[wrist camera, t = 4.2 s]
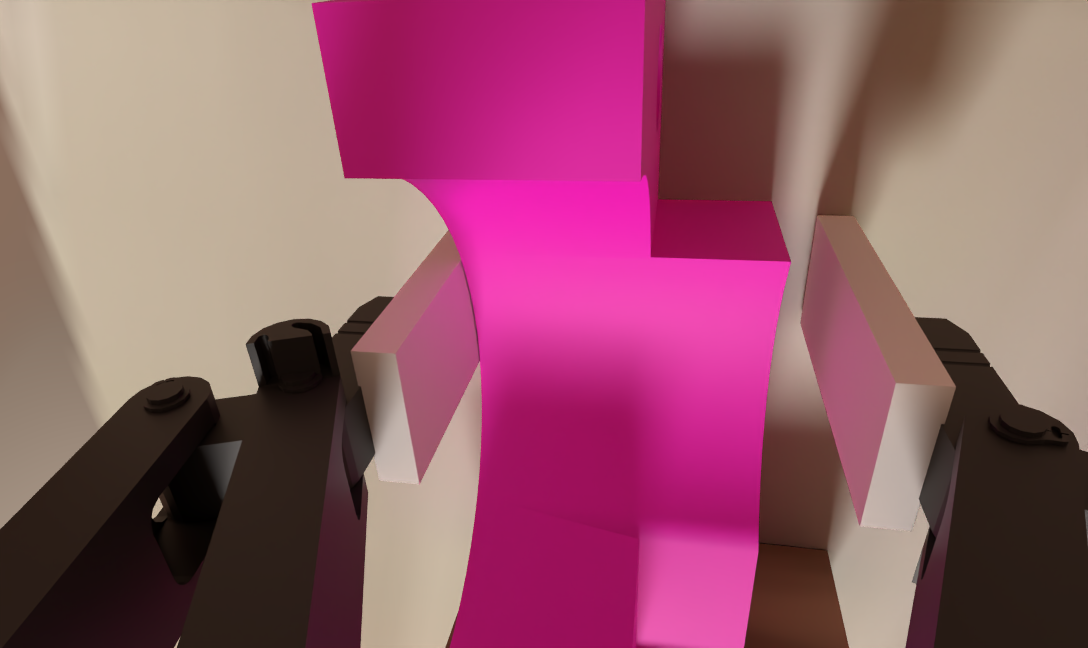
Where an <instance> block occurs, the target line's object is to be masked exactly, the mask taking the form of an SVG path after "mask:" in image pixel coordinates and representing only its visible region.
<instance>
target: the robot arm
mask: <svg viewBox="0 0 1088 648" xmlns="http://www.w3.org/2000/svg"><path fill="white" fill-rule="evenodd" d="M800 323H801V327H802V330H803V334H804V337H805V341H806V344H807V347H808V351H809V354H810V358H811V361H812V364H813V368H814V371H815V375H816V378H817V382H818V385H819V388H820V392H821V395H822V399H823V402H824V405H825V409H826V412H827V416H828V419H829V423H830V426H831V429H832V433H833V436H834V440H835V443H836V446H837V450H838V453H839V457H840V460H841V464H842V467H843V470H844V474H845V477H846V481H847V484H848V487H849V491H850V494H851V498H852V501H853V504H854V508H855V511H856V515H857V518H858V522H859V525H860V527H870V528H880V529H891V530H901V531H912V530H913V527H914V523H915V520H916V517H917V513H918V510H919V507H920V504H921V506H922V508H923V511H924V513H925V515H926V518H927V520H928V523H929V525H930V527H929V530H928V533H927V536H926V539H925V542H924V546H923V549H922V552H921V555H920V558H919V561H918V564H917V567H916V570H915V574H914V577H913V580H912V582H913V583H916V590H915V596H914V602H913V607H912V613H911V619H910V625H909V630H908V636H907V642H906V648H1088V452H1086V451H1082V450H1079V444H1078V442H1077V439H1076V437H1075V435H1074V433H1073V432H1072V431H1071V430H1069V429H1068V428H1067V427H1066V426H1065V425H1064V424H1063V423H1062V422H1060V421H1059V420H1057V419H1055V418H1053V417H1051V416H1049V415H1047V414H1045V413H1044V412H1042V411H1039V410H1035V409H1032V408H1029V407H1026V406H1023V405H1019V404H1018V402H1017V401H1016V399H1015V398H1014V397H1013V395H1012V394H1011V392H1010V391H1009V390H1008V388H1007V387H1006V385H1005V384H1004V383H1003V381H1002V380H1001V378H1000V377H999V376H998V374H997V373H996V371H995V370H994V368H993V367H990V363H989V361H988V360H987V359H986V357H985V356H984V354H983V353H980V349H979V347H978V346H977V345H976V343H975V342H974V340H973V339H972V337H971V336H970V335H969V333H967V332H966V331H964V330H963V329H961V328H960V327H958V326H956V325H955V324H953V323H952V322H950V321H949V320H947V319H941V318H918V317H914V316H913V314H912V312H911V311H910V309H909V307H908V306H907V304H906V302H905V300H904V299H903V297H902V295H901V294H900V292H899V290H898V289H897V287H896V285H895V284H894V282H893V280H892V279H891V277H890V275H889V274H888V272H887V270H886V269H885V267H884V265H883V264H882V262H881V260H880V259H879V257H878V255H877V254H876V252H875V250H874V249H873V247H872V245H871V244H870V242H869V240H868V239H867V237H866V235H865V234H864V232H863V230H862V229H861V227H860V225H859V224H858V222H857V220H856V218H855V217H854V216H828V215H817V221H816V227H815V234H814V240H813V246H812V253H811V259H810V265H809V272H808V278H807V284H806V290H805V297H804V303H803V309H802V316H801V322H800ZM246 347H247V350H248V353H249V356H250V360H251V363H252V366H253V369H254V373H255V376H256V379H257V382H258V385H259V388H258V391H257V394H253V395H247V396H239V397H232V398H224V399H216V400H215V398H214V395H213V392H212V390H211V387H210V384H209V382H207V381H206V380H204V379H202V378H198V377H189V376H187V377H179V378H175V377H174V378H169V379H166V380H165V381H164V380H161V381H158V382H156V383H154V384H153V385H151V386H149V387H147V388H145V389H143V390H141V391H139V392H138V393H137V394H135V395H134V396H133V397H132V398H130V399H129V400H128V401H127V402H126V403H125V404H124V405H123V406H122V407H121V408H120V409H119V410H118V411H117V412H116V413H115V414H114V415H113V416H112V417H111V418H110V419H109V420H108V421H107V422H106V423H105V424H104V425H103V426H102V427H101V428H100V429H99V430H98V431H97V432H96V433H95V435H93V436H92V437H91V438H90V440H88V442H86V443H85V444H84V445H83V446H82V448H81V449H79V450H78V451H77V452H76V453H75V454H74V456H72V458H71V459H70V460H69V461H68V462H67V463H66V464H65V465H64V466H63V467H62V468H61V469H60V470H59V471H58V472H57V473H56V474H55V475H54V476H53V477H52V478H51V479H50V480H49V481H48V482H47V483H46V484H45V485H44V486H43V487H42V488H41V489H40V490H39V491H38V492H37V493H36V494H35V495H34V496H33V497H32V498H31V499H30V500H29V501H28V502H27V503H26V504H25V505H24V506H23V507H22V508H21V509H20V510H19V511H18V512H17V513H16V514H15V515H14V516H13V517H12V518H11V519H10V520H9V521H8V522H7V523H6V524H5V525H4V526H3V527H2V528H1V529H0V648H174V646H175V645H176V643H177V641H178V639H179V638H180V640H179V643H178V646H177V648H360V644H361V624H362V604H363V584H364V564H365V544H366V524H367V504H368V490H367V486H366V482H365V477H364V471H365V470H366V468H367V466H368V465H369V463H370V461H371V460H372V458H373V457H374V459H375V463H376V468H377V473H378V477H379V481H389V482H400V483H410V484H420V482H421V480H422V478H423V476H424V474H425V472H426V470H427V468H428V466H429V464H430V462H431V460H432V458H433V455H434V453H435V451H436V449H437V447H438V445H439V443H440V441H441V439H442V437H443V435H444V433H445V431H446V429H447V427H448V425H449V423H450V421H451V419H452V416H453V414H454V412H455V410H456V408H457V406H458V404H459V402H460V400H461V398H462V396H463V394H464V392H465V390H466V388H467V386H468V384H469V382H470V380H471V378H472V375H473V373H474V371H475V369H476V367H477V365H478V363H479V361H480V354H479V344H478V335H477V328H476V321H475V314H474V309H473V304H472V299H471V294H470V289H469V285H468V281H467V278H466V274H465V270H464V267H463V264H462V261H461V258H460V255H459V252H458V250H457V247H456V245H455V242H454V240H453V237H452V235H451V233H450V231H449V230H448V231H447V233H446V234H445V235H444V236H443V238H442V239H441V240H440V241H439V243H438V244H437V245H436V246H435V248H434V249H433V250H432V251H431V252H430V254H429V255H428V256H427V257H426V259H425V260H424V261H423V262H422V264H421V265H420V266H419V267H418V268H417V270H416V271H415V272H414V273H413V275H412V276H411V277H410V278H409V280H408V281H407V282H406V283H405V285H404V286H403V287H402V288H401V289H400V291H399V292H398V293H397V294H396V296H395V297H381V296H378V297H376V298H374V299H373V300H371V301H369V302H367V303H366V304H364V305H362V306H360V307H359V308H358V309H357V310H356V311H355V312H354V313H353V315H352V316H351V317H350V318H349V319H348V320H347V323H345V324H344V325H343V326H342V327H341V328H340V329H339V330H338V334H335V335H334V336H333V337H331V333H330V329H329V326H328V325H326V324H325V323H323V322H322V321H318V320H313V319H293V320H288V321H284V322H279V323H276V324H273V325H271V326H268V327H266V328H263V329H262V330H260V331H259V332H257V333H256V334H254V335H253V336H252V337H251V338H250V339H249V341H248V342H247V343H246ZM158 498H160V501H161V503H162V505H163V508H162V509H161V511H160V512H159V513H158V515H157V516H156V517H155V518H154V519H152V511H153V508H154V506H155V504H156V502H157V500H158Z"/></svg>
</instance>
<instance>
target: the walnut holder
mask: <svg viewBox="0 0 1088 648" xmlns="http://www.w3.org/2000/svg"><path fill="white" fill-rule="evenodd" d="M457 616H458V614H457ZM456 620H457V617H456V619H455V622H454V625H453V628H452V631H451V634H450V636H449V639H448V642H447V645H446V648H450V644H451V640H452V636H453V632H454V628H455V624H456ZM744 648H849V646H848V641H847V637H846V632H845V628H844V623H843V619H842V614H841V610H840V605H839V601H838V596H837V592H836V587H835V583H834V579H833V574H832V570H831V565H830V561H829V556H828V552H827V551H825V550H816V549H807V548H798V547H789V546H780V545H770V544H761V543H758V557H757V564H756V571H755V577H754V584H753V591H752V597H751V604H750V611H749V617H748V624H747V631H746V637H745V644H744Z"/></svg>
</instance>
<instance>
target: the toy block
mask: <svg viewBox="0 0 1088 648" xmlns="http://www.w3.org/2000/svg"><path fill="white" fill-rule="evenodd" d="M312 8H313V14H314V19H315V24H316V29H317V35H318V40H319V45H320V51H321V56H322V61H323V66H324V72H325V77H326V82H327V88H328V93H329V98H330V103H331V109H332V114H333V119H334V124H335V130H336V135H337V140H338V146H339V151H340V156H341V161H342V167H343V172H344V177H345V178H373V179H403V180H405V181H407V182H409V183H411V184H412V185H413V186H415V187H416V188H417V189H418V190H420V191H421V192H422V193H423V194H424V195H425V196H426V197H427V198H428V199H429V201H430V202H431V203H432V204H433V205H434V206H435V208H436V209H437V211H438V212H439V214H440V215H441V217H442V218H443V220H444V222H445V224H446V226H447V227H448V229H449V231H450V233H451V235H452V237H453V240H454V242H455V245H456V247H457V250H458V252H459V255H460V258H461V261H462V264H463V267H464V270H465V274H466V278H467V281H468V285H469V289H470V294H471V299H472V304H473V309H474V314H475V321H476V328H477V335H478V344H479V354H480V368H481V389H482V435H481V457H480V473H479V484H478V496H477V504H476V513H475V522H474V529H473V536H472V543H471V549H470V555H469V561H468V567H467V572H466V578H465V583H464V588H463V593H462V598H461V602H460V607H459V611H458V616H457V620H456V624H455V628H454V632H453V636H452V640H451V644H450V648H744V644H745V637H746V631H747V624H748V617H749V611H750V604H751V597H752V591H753V584H754V577H755V571H756V564H757V557H758V541H759V502H760V480H761V462H762V446H763V433H764V421H765V410H766V400H767V391H768V382H769V374H770V366H771V359H772V352H773V345H774V339H775V333H776V327H777V321H778V316H779V311H780V305H781V301H782V296H783V292H784V287H785V283H786V279H787V275H788V271H789V267H790V264H791V260H790V257H789V254H788V251H787V248H786V245H785V242H784V239H783V235H782V232H781V229H780V226H779V223H778V220H777V217H776V214H775V211H774V208H773V205H772V201H726V200H668V199H658V186H659V160H660V133H661V107H662V80H663V53H664V27H665V0H331V1H324V2H317V3H312Z"/></svg>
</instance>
